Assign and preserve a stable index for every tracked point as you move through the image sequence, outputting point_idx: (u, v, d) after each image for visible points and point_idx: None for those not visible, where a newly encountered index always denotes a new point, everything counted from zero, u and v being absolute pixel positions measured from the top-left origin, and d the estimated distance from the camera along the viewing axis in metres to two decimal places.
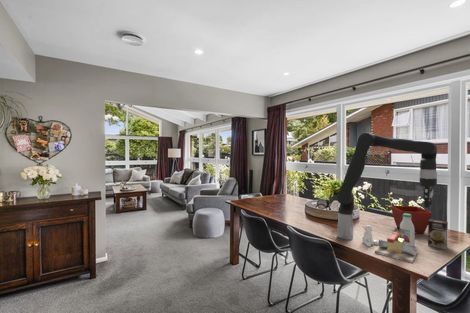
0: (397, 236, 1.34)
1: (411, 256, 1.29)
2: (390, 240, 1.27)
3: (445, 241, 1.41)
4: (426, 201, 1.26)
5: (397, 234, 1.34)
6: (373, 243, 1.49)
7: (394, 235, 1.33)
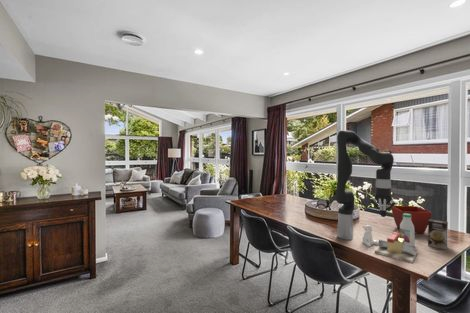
0: (397, 236, 1.34)
1: (411, 256, 1.29)
2: (390, 240, 1.27)
3: (445, 241, 1.41)
4: None
5: (397, 234, 1.34)
6: (373, 243, 1.49)
7: (394, 235, 1.33)
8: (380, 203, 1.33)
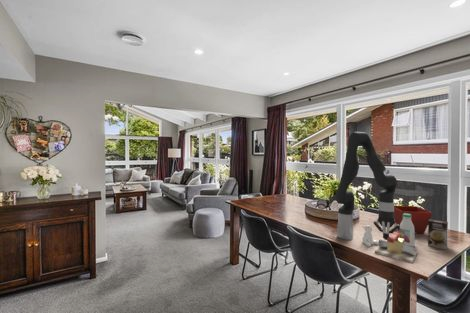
0: (397, 236, 1.34)
1: (411, 256, 1.29)
2: (390, 240, 1.27)
3: (445, 241, 1.41)
4: None
5: (397, 234, 1.34)
6: (373, 243, 1.49)
7: (394, 235, 1.33)
8: (383, 226, 1.32)
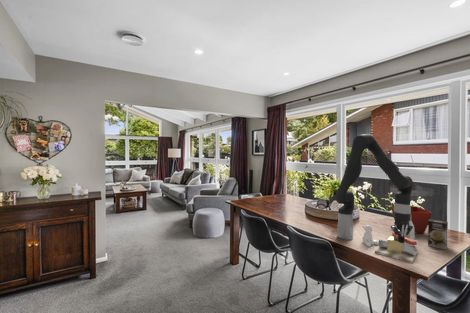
0: None
1: (411, 256, 1.29)
2: (414, 243, 1.23)
3: (445, 241, 1.41)
4: None
5: None
6: (373, 243, 1.49)
7: None
8: (402, 229, 1.26)
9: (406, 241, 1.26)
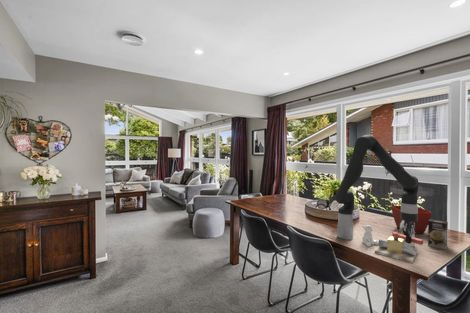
0: None
1: (411, 256, 1.29)
2: (421, 241, 1.24)
3: (445, 241, 1.41)
4: None
5: None
6: (373, 243, 1.49)
7: (404, 235, 1.32)
8: (411, 230, 1.25)
9: (413, 241, 1.27)
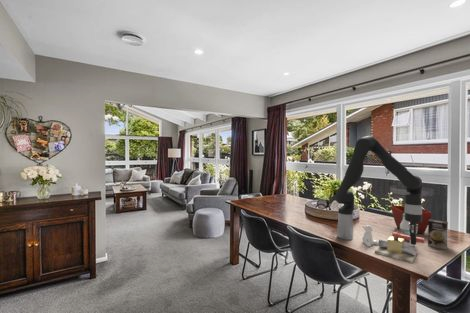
0: None
1: (411, 256, 1.29)
2: (424, 240, 1.27)
3: (445, 241, 1.41)
4: None
5: None
6: (373, 243, 1.49)
7: (405, 235, 1.33)
8: None
9: (416, 240, 1.28)
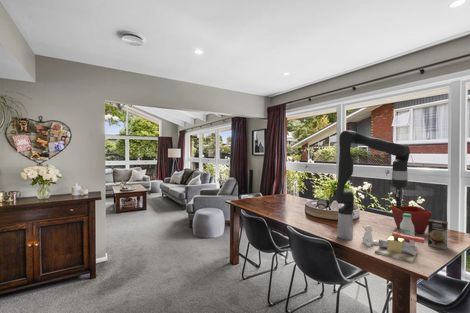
0: None
1: (411, 256, 1.29)
2: (424, 240, 1.27)
3: (445, 241, 1.41)
4: None
5: None
6: (373, 243, 1.49)
7: (405, 235, 1.33)
8: (402, 195, 1.32)
9: (416, 240, 1.28)
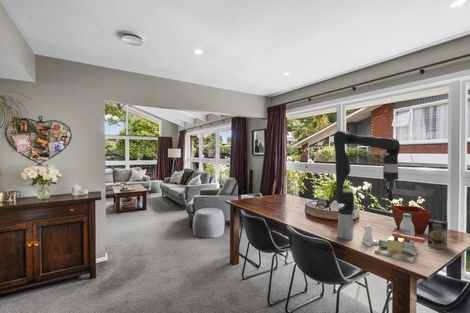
0: None
1: (411, 256, 1.29)
2: (424, 240, 1.27)
3: (445, 241, 1.41)
4: None
5: None
6: (373, 243, 1.49)
7: (405, 235, 1.33)
8: (393, 187, 1.37)
9: (416, 240, 1.28)
